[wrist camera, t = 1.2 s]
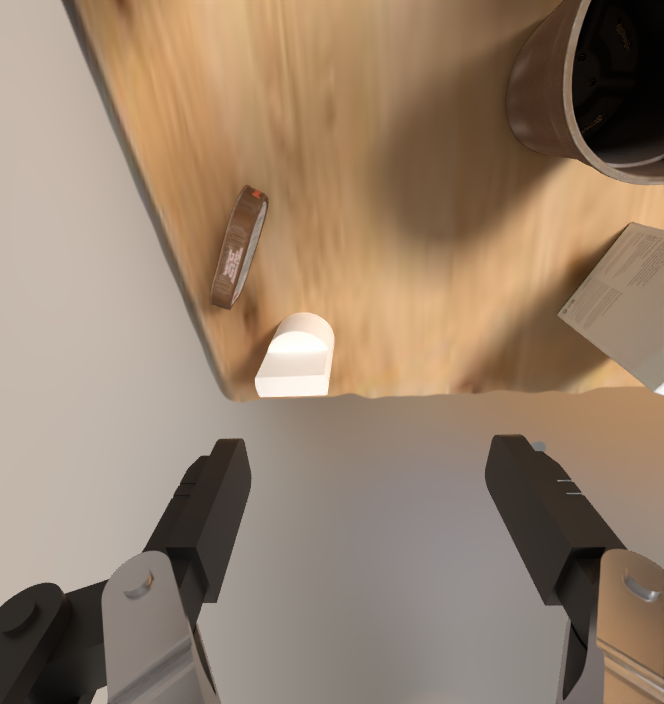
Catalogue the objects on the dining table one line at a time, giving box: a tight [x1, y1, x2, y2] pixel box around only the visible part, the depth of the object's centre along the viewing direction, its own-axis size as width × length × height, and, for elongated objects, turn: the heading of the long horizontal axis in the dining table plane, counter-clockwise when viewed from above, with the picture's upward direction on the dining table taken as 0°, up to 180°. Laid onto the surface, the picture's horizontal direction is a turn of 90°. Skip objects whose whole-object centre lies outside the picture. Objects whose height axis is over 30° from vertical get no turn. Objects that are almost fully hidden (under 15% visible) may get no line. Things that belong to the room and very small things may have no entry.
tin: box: [210, 185, 268, 310], centre depth 39 cm, size 15×3×8 cm, turn 156°
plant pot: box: [506, 0, 664, 185], centre depth 25 cm, size 16×16×16 cm
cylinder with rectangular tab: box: [255, 312, 334, 397], centre depth 45 cm, size 9×9×12 cm
